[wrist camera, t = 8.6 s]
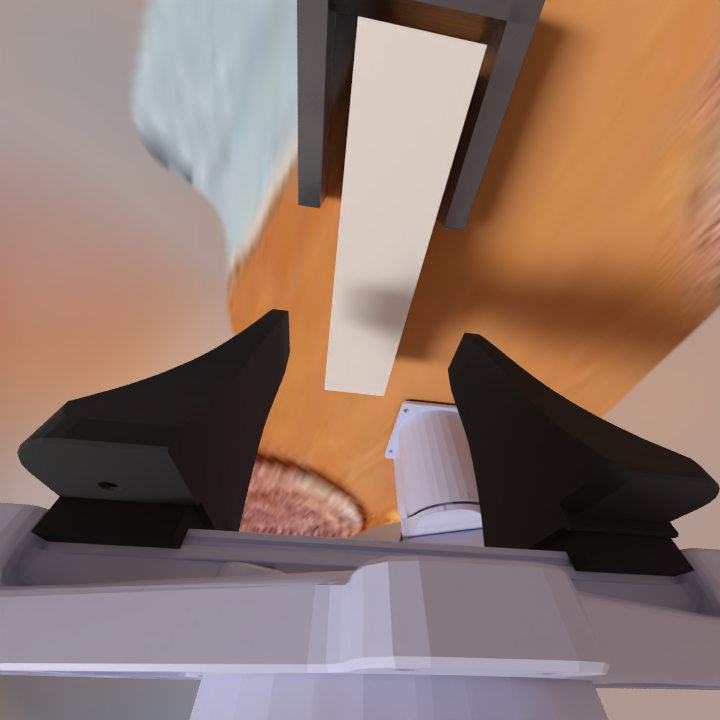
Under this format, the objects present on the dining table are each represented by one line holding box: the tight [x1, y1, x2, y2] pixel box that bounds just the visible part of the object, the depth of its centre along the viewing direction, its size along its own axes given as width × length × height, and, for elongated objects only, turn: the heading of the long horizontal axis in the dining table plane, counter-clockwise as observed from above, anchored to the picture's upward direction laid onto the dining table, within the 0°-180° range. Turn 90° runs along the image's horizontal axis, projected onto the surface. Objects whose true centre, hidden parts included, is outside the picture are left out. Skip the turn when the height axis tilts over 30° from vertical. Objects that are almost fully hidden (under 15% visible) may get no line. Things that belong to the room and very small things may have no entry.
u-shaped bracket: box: [297, 0, 545, 230], centre depth 12 cm, size 8×8×3 cm
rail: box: [324, 16, 487, 396], centre depth 15 cm, size 16×4×5 cm, turn 172°
